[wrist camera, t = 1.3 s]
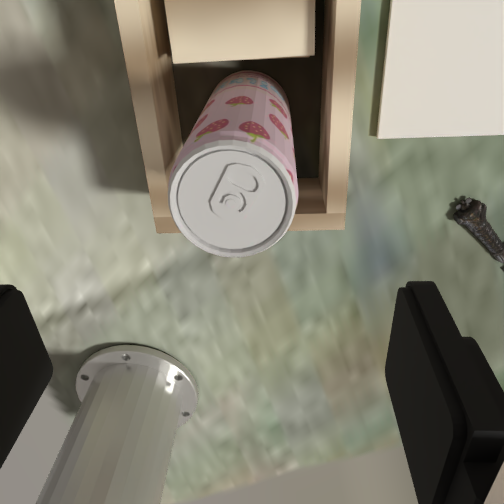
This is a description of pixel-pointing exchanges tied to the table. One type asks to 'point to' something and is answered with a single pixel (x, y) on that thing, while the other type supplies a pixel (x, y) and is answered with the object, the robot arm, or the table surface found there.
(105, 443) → the robot arm
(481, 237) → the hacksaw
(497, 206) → the table surface
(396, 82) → the pad
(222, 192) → the beverage can
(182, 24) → the offcut upper
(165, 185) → the frame
